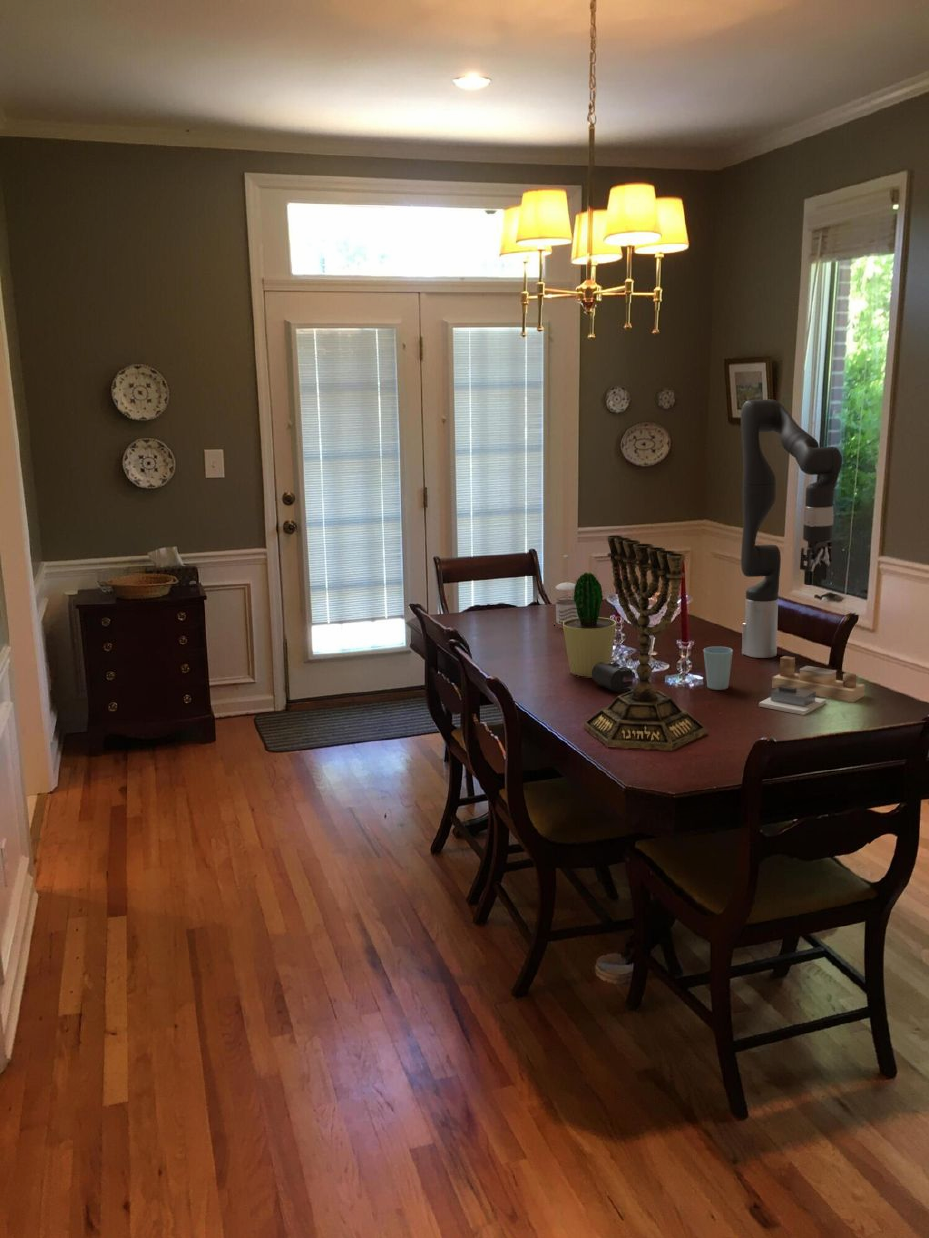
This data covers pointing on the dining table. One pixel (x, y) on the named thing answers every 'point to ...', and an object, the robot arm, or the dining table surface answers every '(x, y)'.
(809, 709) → the bench mat
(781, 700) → the lever cap
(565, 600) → the french press
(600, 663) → the end cap
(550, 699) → the dining table surface
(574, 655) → the potted cactus
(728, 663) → the cup
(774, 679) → the plane body
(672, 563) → the menorah
